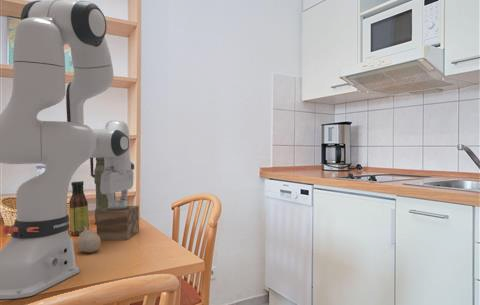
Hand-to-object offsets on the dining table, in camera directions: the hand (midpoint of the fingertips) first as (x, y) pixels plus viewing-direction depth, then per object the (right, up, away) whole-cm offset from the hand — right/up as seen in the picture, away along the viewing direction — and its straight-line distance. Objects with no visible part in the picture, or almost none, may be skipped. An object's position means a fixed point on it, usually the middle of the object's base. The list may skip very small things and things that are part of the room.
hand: (117, 203), depth 119 cm
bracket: (0, -7, 0) cm, 7 cm away
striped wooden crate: (0, -12, 0) cm, 12 cm away
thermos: (-14, -12, +22) cm, 29 cm away
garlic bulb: (-2, -12, -19) cm, 22 cm away
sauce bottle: (-16, -12, +3) cm, 20 cm away
